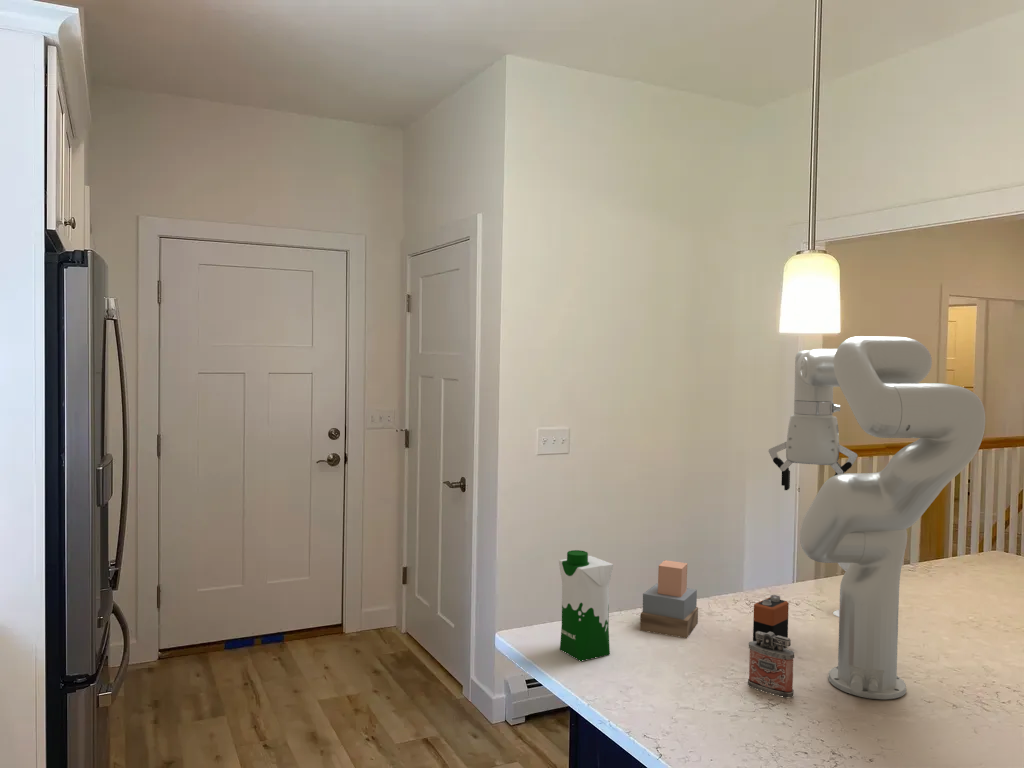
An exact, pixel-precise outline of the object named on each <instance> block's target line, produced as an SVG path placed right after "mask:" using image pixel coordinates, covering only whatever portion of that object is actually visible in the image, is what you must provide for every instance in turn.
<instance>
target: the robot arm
mask: <svg viewBox="0 0 1024 768" xmlns="http://www.w3.org/2000/svg"><path fill="white" fill-rule="evenodd" d="M794 359H795V361H794V364H795V365H794V401H793V414H790V417H789V421H788V422H789V423H788V428H787V434H786V435H787V436H786V441H784V442H782V443H780V444H777V445H775V446H772V447H771V448H769V449H768V454H769V456H770V457H771V459H772V462H773V464H775V466H777V467H778V469H779V470H780V471H781V486H782V487H783V486H784V488H783V489H784V491H788V490H790V487H791V486H790V485H791V471H790V469H789V467H790V466H791V465H792V464H793V463H794V464H803V465H805V464H806V465H819V466H830V467H831V468H832V469H833V471H834V472H835V473H834V475H833V476H830V477H829V478H828V479H827V480H825V482H824V483H823V484H822V485H821V487H820V489H819V490H818V492H817V494H816V496H815V497H814V499H813V500H812V502H811V504H810V506H808V509H807V510H806V512H805V515H804V516H803V519H802V521H801V525H800V530H799V541H800V547H801V549H802V551H803V552H804V554H805V555H806V556H807V557H808V558H809V559H811V560H813V561H814V562H818V563H824V564H828V563H829V564H838V563H851V564H850V566H849V567H848V569H847V570H846V571H844V574H843V576H842V578H841V581H840V586H839V587H840V588H839V609H838V610H839V617H838V647H837V648H838V653H837V657H838V658H837V666H834V667H832V668H831V669H829V671H828V678H827V679H828V681H829V683H831V684H832V686H834V688H836V689H838V690H840V691H842V692H845V693H847V694H850V695H852V696H856V697H861V698H865V699H873V700H894V699H898V698H899V699H900V698H901V697H902V696H904V695H905V694H906V693H907V684H906V682H905V681H904V680H903V679H902V678H901V677H900V676H898V675H897V674H898V673H897V672H898V640H899V639H898V638H899V637H898V635H899V609H900V608H899V605H900V604H899V603H900V582H901V581H900V580H901V572H902V568H903V567H902V566H903V562H904V557H905V553H906V549H907V544H908V530H907V529H909V528H910V527H912V526H913V525H914V524H915V523H917V521H919V520H920V518H921V517H922V516H923V515H924V513H926V511H927V509H928V508H929V507H930V506H931V504H932V503H934V501H935V499H936V498H937V497H938V496H939V495H940V493H941V492H942V491H943V489H945V487H946V486H947V485H948V484H949V483H950V482H951V481H952V480H953V479H954V478H955V477H956V476H957V475H959V474H960V473H961V472H962V471H963V470H964V469H966V467H967V466H968V465H969V463H971V461H972V460H973V458H974V457H975V456H976V454H977V452H978V451H979V448H980V446H981V443H982V441H983V439H984V434H985V428H986V410H985V407H984V403H983V402H982V400H981V399H980V397H979V396H978V395H977V394H976V393H975V392H973V390H972V391H971V390H970V389H969V388H966V387H963V386H960V385H955V384H949V383H940V382H939V383H938V382H935V383H934V382H922V381H924V379H925V378H927V376H928V375H929V373H930V371H931V369H932V366H933V359H932V355H931V353H930V351H929V349H928V348H927V347H926V346H925V345H924V344H923V343H922V342H920V341H918V340H917V339H914V338H911V337H906V336H876V335H875V336H872V335H871V336H864V335H860V336H859V335H858V336H851V337H849V338H847V339H845V340H844V341H842V342H841V344H839V346H838V347H837V348H813V349H810V350H808V349H806V350H804V349H803V350H799V351H798V352H797V353H796V355H795V358H794ZM834 388H840V390H841V392H842V394H843V396H844V398H845V400H846V402H847V404H848V406H849V407H850V408H849V409H850V411H852V414H853V417H854V418H855V420H856V421H857V423H858V425H859V426H860V428H861V430H863V431H864V432H865V433H866V434H867V435H870V436H872V437H875V438H878V439H879V438H880V439H881V438H882V439H917V440H915V441H913V442H912V443H909V444H907V445H905V446H903V448H901V449H900V450H899V451H897V452H896V453H895V454H894V455H893V456H892V457H891V459H890V460H889V461H888V463H887V464H886V466H885V467H884V468H883V469H882V470H880V471H878V472H877V471H876V472H869V473H868V472H865V473H863V472H859V473H855V472H854V473H853V472H852V473H851V472H850V473H849V472H848V473H846V472H847V471H848V470H849V469H851V468H852V467H853V465H854V464H855V461H856V460H857V458H858V457H859V455H858V454H857V452H854V451H852V450H851V449H849V448H847V447H846V446H843V445H842V444H840V435H839V434H840V433H839V423H838V417H837V416H835V415H833V414H835V413H836V412H841V405H840V404H836V403H835V402H834ZM783 450H785V458H786V460H785V461H783V460H782V459H781V458H780V457H779V454H778V452H780V451H783ZM840 453H841V454H843V455H844V456H846V457H848V459H847V461H846V462H845V463H844V464H843V465H841V464H840V463H839V462H838V461H839V458H840Z"/></svg>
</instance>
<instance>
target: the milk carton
mask: <svg viewBox="0 0 1024 768" xmlns="http://www.w3.org/2000/svg"><path fill="white" fill-rule="evenodd" d="M558 564H559V565H558V566H559V570H560V577H561V629H560V644H559V650H560V651H561V650H562V652H563V651H564V653H565V652H566V653H565V654H567V653H568V654H569V655H568V654H567V655H568V656H570V655H571V656H570V657H572V656H573V657H575V658H577V659H578V660H577V659H576V660H577V661H579V660H580V661H581V662H583V661H582V660H585V661H587V660H586V659H590V660H592V659H591V658H594V659H596V658H595V657H598V658H601V657H600V656H602V657H605V656H604V655H606V656H609V654H611V651H610V649H611V648H610V630H609V627H610V626H609V625H610V624H609V622H610V620H609V619H610V618H609V615H610V614H609V613H610V612H609V611H610V610H609V609H610V581H611V577H612V571H613V567H614V564H613V563H611V562H608V561H605V560H604V559H600V558H599V557H595V556H593V555H589V553H588V551H585V550H581V549H580V550H578V549H575V550H568V551H567V553H566V558H563V559H558ZM573 657H572V658H573ZM575 658H574V659H575ZM580 661H579V662H580Z"/></svg>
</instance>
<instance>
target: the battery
mask: <svg viewBox="0 0 1024 768" xmlns="http://www.w3.org/2000/svg"><path fill="white" fill-rule="evenodd" d="M769 596H770V597H767V598H765V599H763V600H760V601H758V602H755V603H753V627H752V629H753V630H752V633H753V634H752V641H756V632H757V631H760V632H764V633H768V632H773V633H774V634H775V636H778V635H779V636H783V637H786V638H789V634H788V633H789V605H790V604H789V601H787V600H783V599H781V596H780V595H777V594H770V595H769ZM761 642H762V641H761ZM778 645H779V644H778ZM783 648H786V646H783Z"/></svg>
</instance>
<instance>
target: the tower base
mask: <svg viewBox="0 0 1024 768" xmlns="http://www.w3.org/2000/svg"><path fill="white" fill-rule="evenodd" d="M639 614H640V617H639V618H640V622H639V625H640V627H639V630H640V631H641V630H643V631H642V632H647V631H650V632H649V633H653V632H655V634H659V633H661V634H660V635H665V634H667V636H671V635H673V637H678V636H680V637H679V638H684V637H685V639H688V638H689V636H690V635H691V633H692V632H693V631H694V629H695V628H696V626H697V625H698V624H699V607H698V606H696V609H695V610H694V611H693V612H691V613H690V614H689V615H688V616H687V617H686V618H685V619H684V620H682V619H677V618H671V617H666V616H660V615H655V614H649V613H644V612H643V611H642V612H640V613H639ZM687 637H688V638H687Z"/></svg>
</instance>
